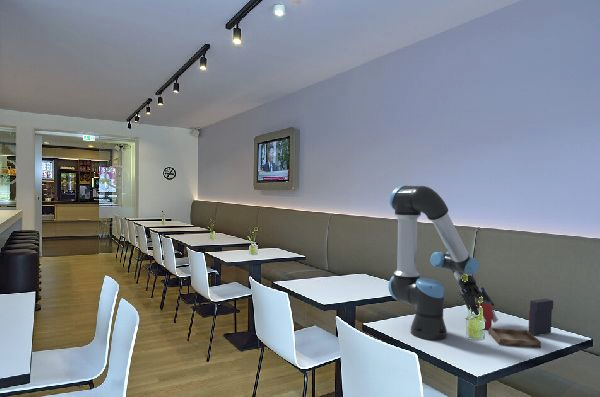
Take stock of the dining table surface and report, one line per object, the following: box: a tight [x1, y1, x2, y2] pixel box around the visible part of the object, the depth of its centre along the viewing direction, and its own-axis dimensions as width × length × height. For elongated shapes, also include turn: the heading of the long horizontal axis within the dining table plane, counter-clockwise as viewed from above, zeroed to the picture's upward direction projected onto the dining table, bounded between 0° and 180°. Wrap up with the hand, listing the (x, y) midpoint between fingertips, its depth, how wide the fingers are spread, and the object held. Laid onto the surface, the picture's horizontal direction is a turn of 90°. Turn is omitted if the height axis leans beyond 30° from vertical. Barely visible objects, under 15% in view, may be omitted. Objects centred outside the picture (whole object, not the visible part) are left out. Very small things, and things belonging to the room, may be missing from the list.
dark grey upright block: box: [527, 298, 554, 337], centre depth 186 cm, size 11×4×15 cm, turn 115°
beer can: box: [476, 300, 493, 330], centre depth 192 cm, size 7×7×12 cm
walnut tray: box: [488, 327, 542, 349], centre depth 176 cm, size 16×14×2 cm
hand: (490, 321), depth 189 cm, fingers closed on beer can, 6 cm apart
